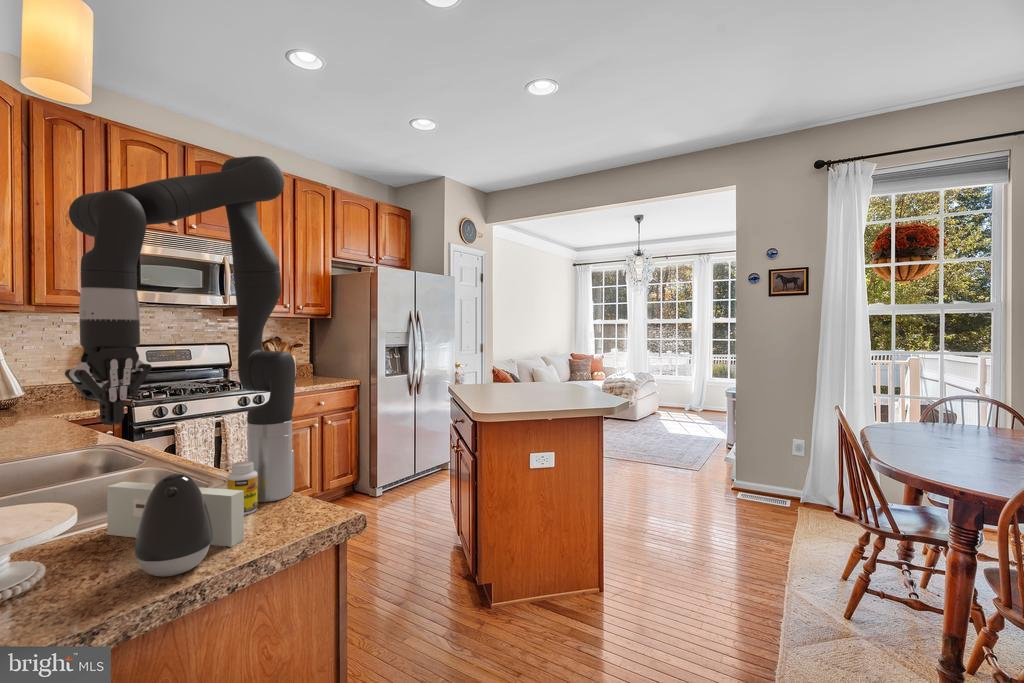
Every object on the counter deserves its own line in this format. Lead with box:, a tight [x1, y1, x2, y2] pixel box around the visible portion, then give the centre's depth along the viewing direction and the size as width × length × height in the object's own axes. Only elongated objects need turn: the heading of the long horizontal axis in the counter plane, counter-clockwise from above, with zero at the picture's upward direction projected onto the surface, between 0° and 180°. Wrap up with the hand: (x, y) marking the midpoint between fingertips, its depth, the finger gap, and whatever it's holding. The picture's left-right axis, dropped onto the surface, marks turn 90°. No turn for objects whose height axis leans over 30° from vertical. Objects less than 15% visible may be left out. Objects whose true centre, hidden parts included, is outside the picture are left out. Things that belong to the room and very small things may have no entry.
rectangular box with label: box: [106, 481, 245, 548], centre depth 89 cm, size 3×26×9 cm, turn 80°
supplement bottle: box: [226, 460, 258, 516], centre depth 102 cm, size 6×6×10 cm
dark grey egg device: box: [133, 472, 213, 577], centre depth 78 cm, size 10×10×15 cm
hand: (112, 423), depth 80 cm, fingers closed
